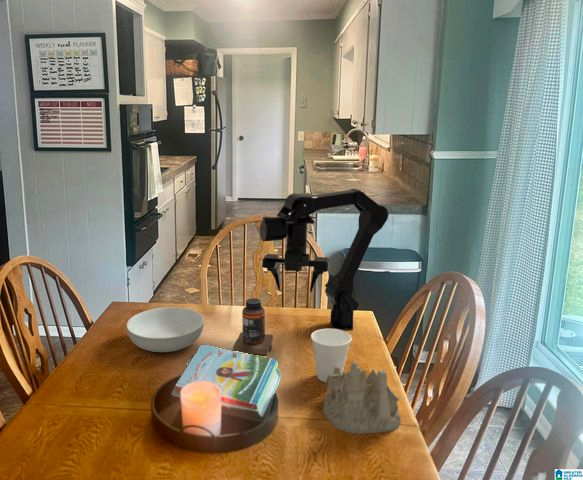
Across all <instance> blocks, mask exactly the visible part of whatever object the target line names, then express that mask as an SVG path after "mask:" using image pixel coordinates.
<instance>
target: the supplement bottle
mask: <svg viewBox="0 0 583 480" xmlns="http://www.w3.org/2000/svg"><path fill="white" fill-rule="evenodd" d="M265 313H266V311H265V308H264V307H263V306H262V300H261V299H260V298H255V297H254V298H253V297H251V298H247V299H246V300H245V307H243V308H242V313H241V314H242V315H241V316H242V332H243V341H244V342H246V343H248V344H259V343H261V342H263V341H264V339H265V334H266V321H265V320H266V318H265V317H266V316H265V315H266V314H265Z"/></svg>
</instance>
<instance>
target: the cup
mask: <svg viewBox="0 0 583 480" xmlns="http://www.w3.org/2000/svg"><path fill="white" fill-rule="evenodd" d="M310 334H311V335H310V339H311V343H312V349H313V356H314V362H315V371H316V377H317V379H318V380H319V381H321V382H322V383H326V381H327V377H328V376H329V375H330V374H331V373H333V372H334V368H335V366H339V367H340V368H341V369H342V370H343V371H344V370H345V366H346V361H347V358H348V357H347V356H348V353H349V349H350V344H351V342H352V339H353V338H352V335H351V334H349V333H348V332H347V331H345V330H343V329H337V328H322V329H321V328H320V329H317V330H314V331H313V332H311V333H310Z"/></svg>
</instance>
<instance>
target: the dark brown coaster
mask: <svg viewBox="0 0 583 480" xmlns="http://www.w3.org/2000/svg"><path fill="white" fill-rule="evenodd" d="M273 340H274V335H273V334H267V333H265V339H264V341H263V342H261V343H259V344H248V343H246V342H244V341H243V331H242V332H241V331H240V333H239V335H238V337H237V338H236V340H235V342H234V344H233V345H232V352H233V351H239V352H244V353H243V354H256V355H261V356H267V357H268V353H269V352H271V351H272V349H273Z"/></svg>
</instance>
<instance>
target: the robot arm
mask: <svg viewBox="0 0 583 480" xmlns="http://www.w3.org/2000/svg"><path fill="white" fill-rule="evenodd" d="M349 205H352V206H354V208H355V209H356V210H358V212H359V215H358V229H357V232H356V233H355V236H354V238H353V240H352V243H351V245H350V247H349V249H348V251H347V253H346V256H345V258H344V261H343V263H342V265H341V267H340V269H339V270H338V272H337V273H336V274H335V275H333V274H330V275H329V277H328V280H327V282H326V283H325V285H324V287H325V290H324V292H325V296H326V297H327V298H328V299H329V300H330V303H331V304H333V305H332V308H331V309H330V325H331V329H338V330H353V329H354V311H357V310H358V308H359V305H360V303H359V302H358V301H357V300H356V299H355V298H354V297H353V293H354V290H355V278H356V275H357V272H358V271H359V269H360V267H361V264H362V262H363V260H364V257H365V255H366V253H367V251H368V249H369V246H370V244H371V242H372V239H373V237H374V236H375V235H376V234H377V233H378V232H379V231H380V230H382V228H383V227H384V225H385V224H386V222H387V221H388V219H389V212H388V209H387V207H385V206H383V205H381V204H378V203H377V202H376V201H375V200H374V199H372V198H370V197H369V196H368V195H367V194H366V193H365V192H364V191H363V190H360V189H356V188H351V189H347V190H341V191H333V192H327V193H320V194H319V193H318V194H308V193H294V192H293V193H290V194H289V195H287V197H286V198H285V201H284V204H283V205H282V207H281V208H280V210H279V211H278V213H277V214H276V216H267V215H265V216H262V221H261V222H260V225H259V236H260V239H261V241H262V242H275V241H284V239H286V248H285V249H286V250H285V252H284V258H282V257H280V256H279V255H280V254H277V253H276V254H275V253H267V254H265V255H264V257H263V258H262V260H261V261H262V263H261V268H263V269H266V271H267V272H270V273H271V275H272V276H273V279H274V280H275V283H276V286H277V289H278V291H281V287H282V286H281V285H282V283H281V282H282V281H281V266H283V268H284V269H283V270H284V271H286V272H289V271H291V272H298V273H299V272H301V271H302V269H303V268H306V267H308V268H309V267H310V268H313V270H312V273H311V274H312V275H311V281H310V282H311V283H310V286H309V287H310V288H309V292H310V293H312V292H313V290H314V286H315V284H316V281H317V279H318V278H319V276H320V275H324V273H327V272H329V267H330V258H329V257H327V256H325V257H324V256H315V259H310V253H307V247H308V246H307V245H308V243H307V241H308V240H307V239H308V237H307V236H308V224H309V225H310V224H314V223H315V220H314V219H313V218H311V217H312V216H310V215H313V214H315V213H316V212H318V211H320V210H326V209H329V208H330V209H332V208H337V207H344V206H349Z"/></svg>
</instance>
